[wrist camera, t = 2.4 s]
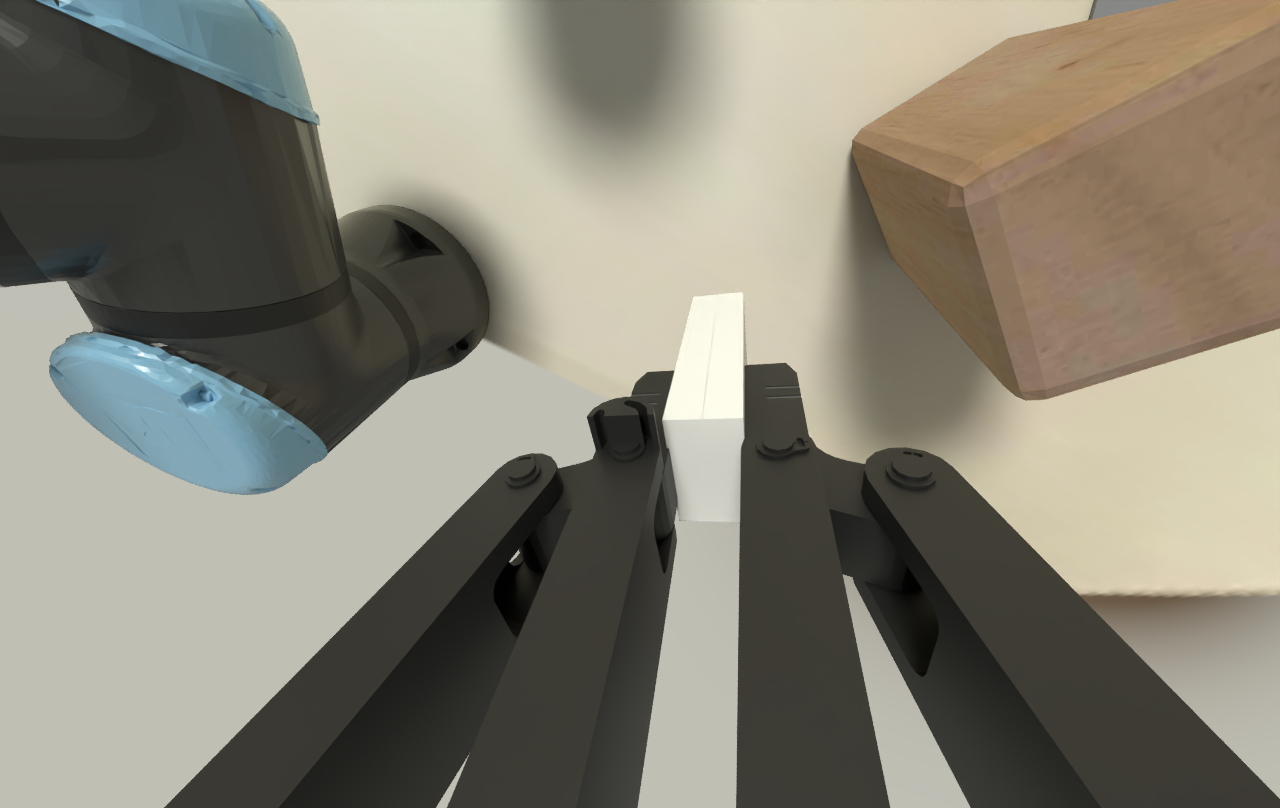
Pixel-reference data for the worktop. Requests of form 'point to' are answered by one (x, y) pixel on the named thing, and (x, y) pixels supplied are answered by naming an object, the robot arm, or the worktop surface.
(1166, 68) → the wooden block
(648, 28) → the worktop surface
